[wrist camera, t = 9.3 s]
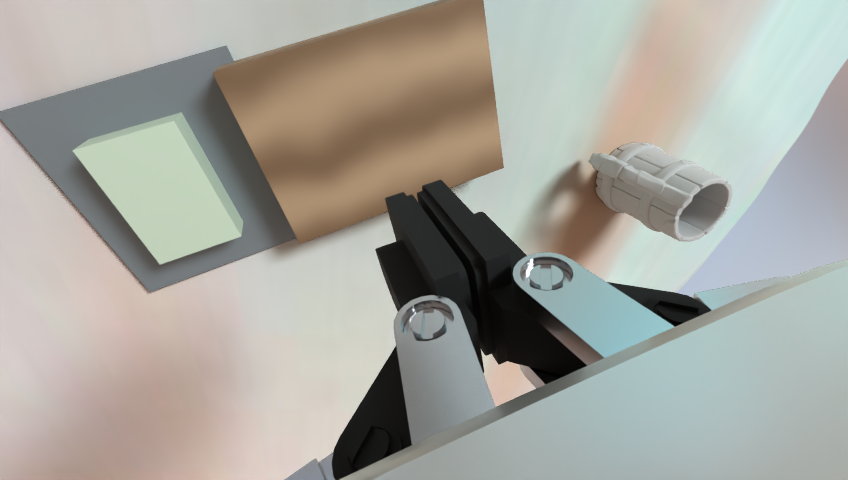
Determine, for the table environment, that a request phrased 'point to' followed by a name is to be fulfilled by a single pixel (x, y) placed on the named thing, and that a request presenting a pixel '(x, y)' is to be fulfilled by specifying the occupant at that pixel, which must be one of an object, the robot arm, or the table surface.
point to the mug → (661, 190)
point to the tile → (163, 187)
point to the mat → (136, 104)
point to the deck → (369, 113)
